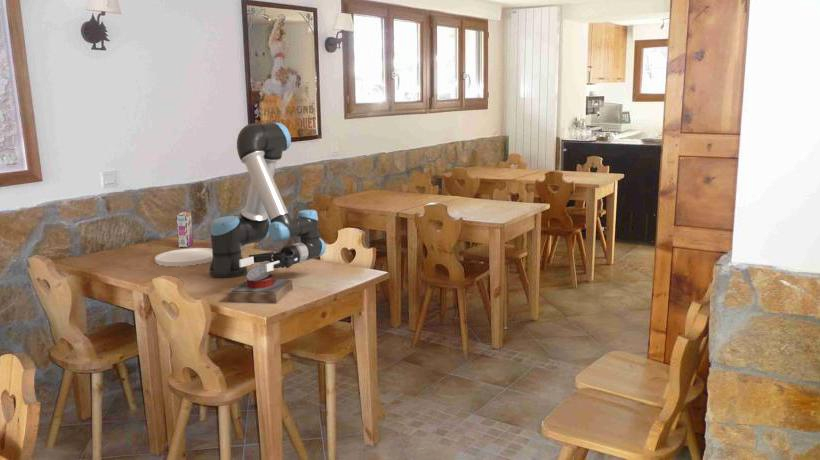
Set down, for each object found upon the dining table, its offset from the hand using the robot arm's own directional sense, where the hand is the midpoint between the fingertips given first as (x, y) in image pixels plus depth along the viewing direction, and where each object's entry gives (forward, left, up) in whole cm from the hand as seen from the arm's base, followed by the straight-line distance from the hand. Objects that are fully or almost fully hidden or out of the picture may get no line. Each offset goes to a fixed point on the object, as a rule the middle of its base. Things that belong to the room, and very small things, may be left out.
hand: (252, 265), depth 248 cm
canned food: (+1, +3, -8) cm, 9 cm away
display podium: (+1, +3, -12) cm, 12 cm away
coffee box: (-40, +78, -12) cm, 88 cm away
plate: (-55, +57, -13) cm, 80 cm away
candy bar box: (-70, +85, -12) cm, 111 cm away
